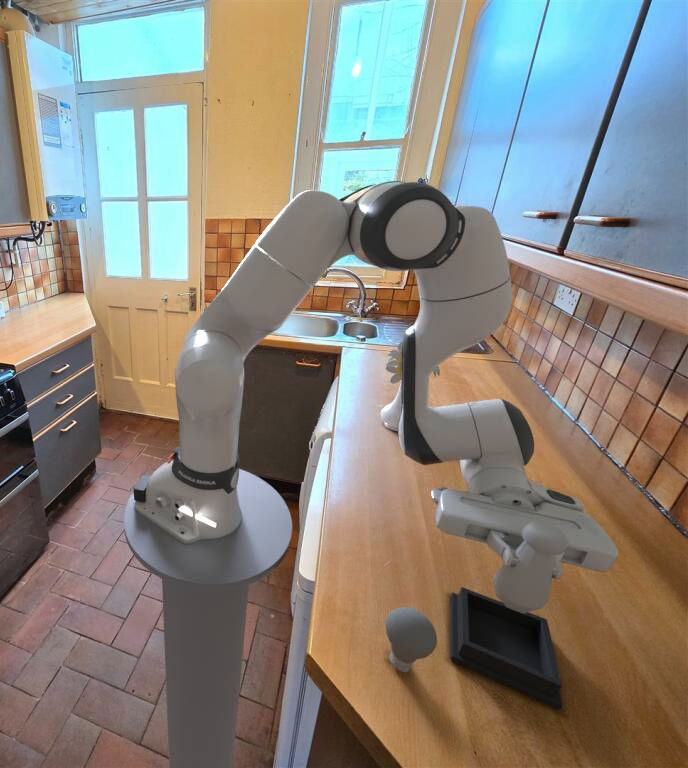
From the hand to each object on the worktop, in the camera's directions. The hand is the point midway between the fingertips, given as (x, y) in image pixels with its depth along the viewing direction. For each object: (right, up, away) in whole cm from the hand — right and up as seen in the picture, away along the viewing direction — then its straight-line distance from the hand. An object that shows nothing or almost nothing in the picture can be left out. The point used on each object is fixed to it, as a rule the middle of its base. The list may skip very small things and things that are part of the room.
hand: (533, 569), depth 53 cm
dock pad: (+1, -15, +7) cm, 16 cm away
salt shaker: (0, -6, +4) cm, 7 cm away
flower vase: (+17, +11, +63) cm, 66 cm away
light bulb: (-15, -16, +5) cm, 22 cm away
